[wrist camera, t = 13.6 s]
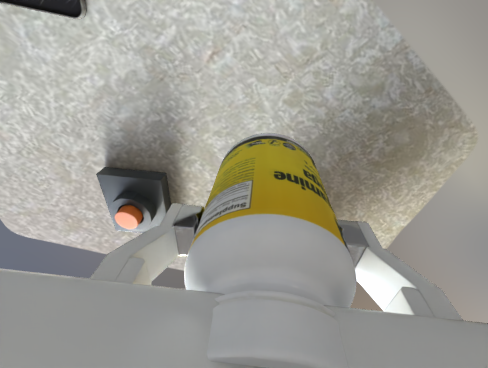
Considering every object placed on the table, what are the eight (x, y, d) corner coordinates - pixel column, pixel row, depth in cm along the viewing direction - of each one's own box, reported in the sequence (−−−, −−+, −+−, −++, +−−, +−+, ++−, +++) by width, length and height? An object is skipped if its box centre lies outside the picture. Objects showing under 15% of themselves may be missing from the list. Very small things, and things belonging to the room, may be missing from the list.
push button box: (104, 166, 35) (88, 180, 32) (166, 173, 35) (155, 187, 32) (122, 222, 42) (110, 237, 39) (174, 227, 42) (166, 244, 38)
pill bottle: (332, 182, 15) (444, 423, 5) (258, 222, 17) (249, 434, 8) (278, 107, 12) (317, 307, 3) (201, 165, 15) (96, 373, 6)
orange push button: (118, 203, 35) (111, 210, 33) (140, 205, 34) (135, 213, 33) (123, 220, 37) (117, 228, 35) (144, 222, 36) (139, 230, 35)
